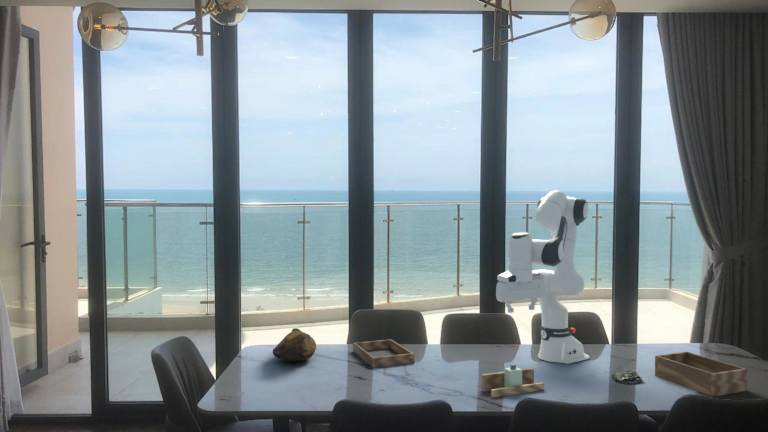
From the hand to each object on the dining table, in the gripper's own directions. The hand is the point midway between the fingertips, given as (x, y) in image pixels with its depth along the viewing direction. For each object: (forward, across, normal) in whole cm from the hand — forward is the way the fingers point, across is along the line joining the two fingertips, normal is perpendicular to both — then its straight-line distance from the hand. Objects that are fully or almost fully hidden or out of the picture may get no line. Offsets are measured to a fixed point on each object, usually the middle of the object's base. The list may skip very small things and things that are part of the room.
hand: (521, 311), depth 218 cm
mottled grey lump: (+30, -40, +12) cm, 51 cm away
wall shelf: (+27, +8, +6) cm, 29 cm away
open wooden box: (+30, -62, +25) cm, 74 cm away
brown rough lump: (+26, +74, -63) cm, 101 cm away
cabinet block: (+28, +8, +6) cm, 29 cm away
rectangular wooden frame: (+27, +38, -53) cm, 70 cm away
